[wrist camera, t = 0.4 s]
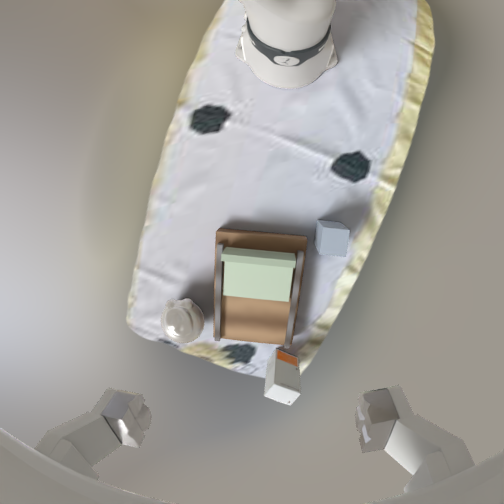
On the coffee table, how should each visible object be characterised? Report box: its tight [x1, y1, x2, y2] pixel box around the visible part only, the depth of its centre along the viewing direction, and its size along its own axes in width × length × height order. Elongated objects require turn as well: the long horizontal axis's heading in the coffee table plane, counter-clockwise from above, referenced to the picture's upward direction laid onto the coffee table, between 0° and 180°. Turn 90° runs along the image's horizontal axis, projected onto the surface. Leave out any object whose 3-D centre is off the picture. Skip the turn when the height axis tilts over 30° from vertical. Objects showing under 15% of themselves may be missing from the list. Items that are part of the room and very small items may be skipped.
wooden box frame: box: [213, 228, 307, 349], centre depth 53 cm, size 22×16×4 cm
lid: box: [221, 247, 296, 302], centre depth 48 cm, size 9×12×4 cm
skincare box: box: [264, 348, 301, 405], centre depth 53 cm, size 6×4×12 cm
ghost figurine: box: [161, 298, 205, 343], centre depth 53 cm, size 9×10×10 cm
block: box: [314, 220, 350, 257], centre depth 47 cm, size 4×4×7 cm
